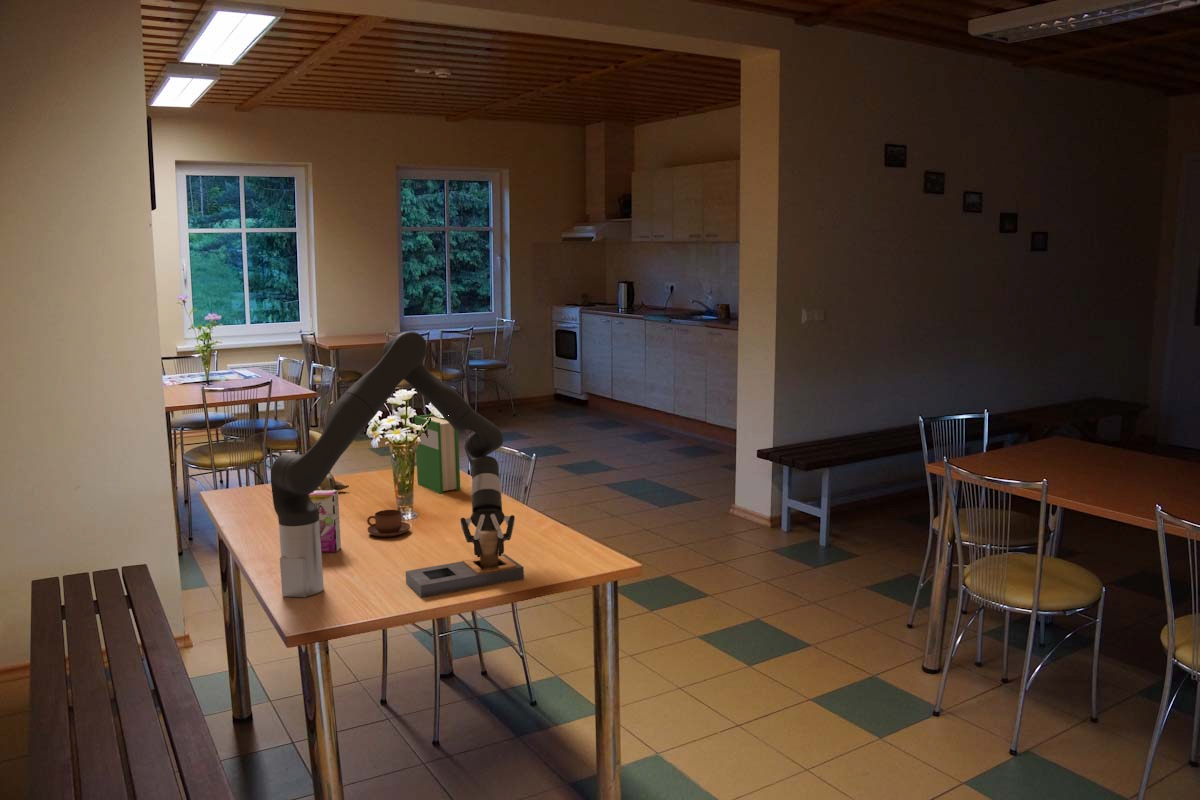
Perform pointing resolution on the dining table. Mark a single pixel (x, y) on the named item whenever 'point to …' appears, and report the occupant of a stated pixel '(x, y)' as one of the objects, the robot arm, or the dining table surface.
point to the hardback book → (438, 455)
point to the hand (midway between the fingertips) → (489, 555)
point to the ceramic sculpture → (331, 484)
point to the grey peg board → (462, 576)
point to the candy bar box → (328, 519)
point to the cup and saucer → (387, 524)
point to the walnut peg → (488, 548)
